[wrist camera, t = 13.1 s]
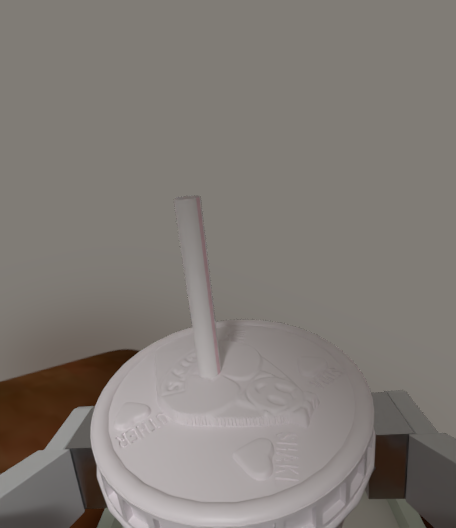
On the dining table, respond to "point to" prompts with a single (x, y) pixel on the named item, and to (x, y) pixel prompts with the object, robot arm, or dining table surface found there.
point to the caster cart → (356, 523)
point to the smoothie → (232, 420)
